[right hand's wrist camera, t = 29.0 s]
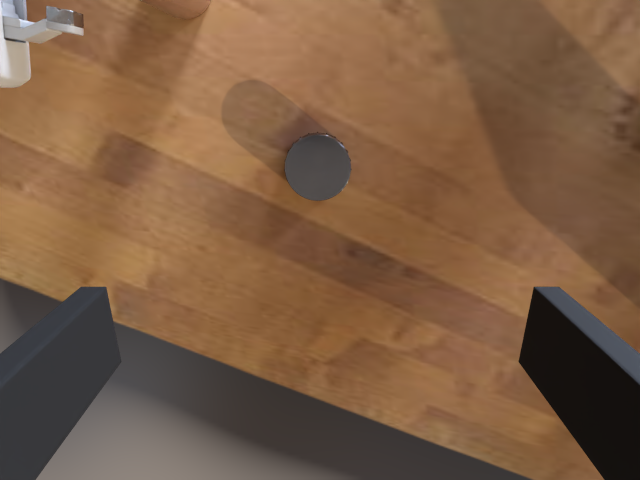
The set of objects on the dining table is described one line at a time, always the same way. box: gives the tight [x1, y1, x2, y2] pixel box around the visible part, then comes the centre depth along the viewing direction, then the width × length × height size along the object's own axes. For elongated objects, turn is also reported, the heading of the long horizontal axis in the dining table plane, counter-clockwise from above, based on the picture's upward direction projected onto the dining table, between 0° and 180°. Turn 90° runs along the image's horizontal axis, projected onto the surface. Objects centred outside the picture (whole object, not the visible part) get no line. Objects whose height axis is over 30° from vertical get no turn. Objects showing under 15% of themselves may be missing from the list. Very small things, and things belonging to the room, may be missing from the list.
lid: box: [285, 132, 351, 201], centre depth 39 cm, size 6×6×2 cm
